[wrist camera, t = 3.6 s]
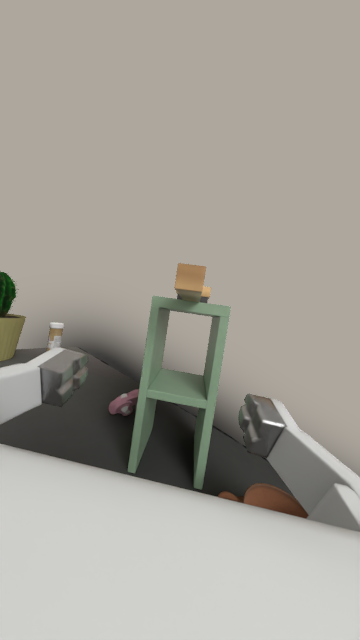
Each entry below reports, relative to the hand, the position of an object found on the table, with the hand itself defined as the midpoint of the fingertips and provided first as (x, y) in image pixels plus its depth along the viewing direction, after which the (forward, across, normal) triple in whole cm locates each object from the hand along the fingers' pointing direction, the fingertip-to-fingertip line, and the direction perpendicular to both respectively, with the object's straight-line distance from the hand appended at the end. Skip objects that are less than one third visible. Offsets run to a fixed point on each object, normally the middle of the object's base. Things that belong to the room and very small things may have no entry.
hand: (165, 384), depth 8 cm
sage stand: (+13, -3, +25) cm, 28 cm away
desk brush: (+16, -1, -1) cm, 16 cm away
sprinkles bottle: (+49, +47, +40) cm, 79 cm away
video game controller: (+22, +6, +28) cm, 36 cm away
